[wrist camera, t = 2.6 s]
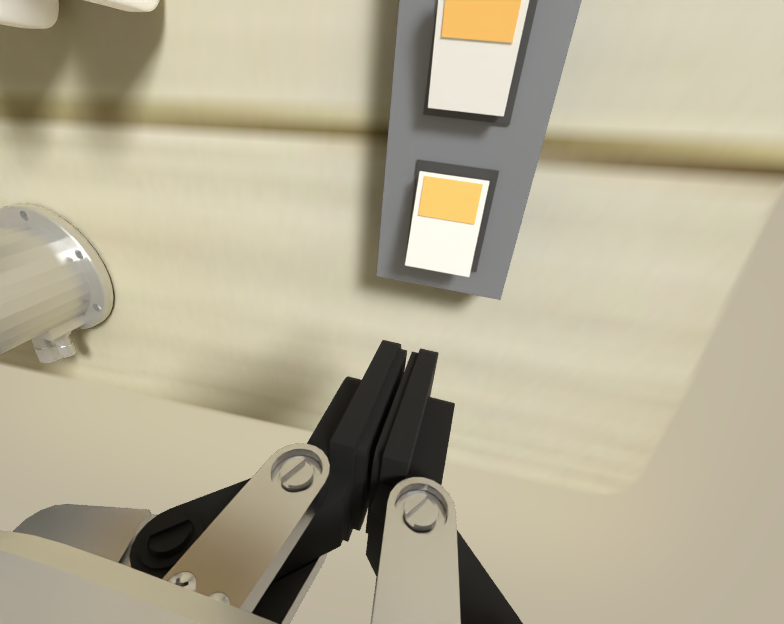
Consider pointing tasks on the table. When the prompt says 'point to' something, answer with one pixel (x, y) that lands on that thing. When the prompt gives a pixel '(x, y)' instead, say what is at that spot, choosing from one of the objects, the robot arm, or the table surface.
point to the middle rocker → (475, 54)
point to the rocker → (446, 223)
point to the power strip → (469, 142)
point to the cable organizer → (56, 11)
